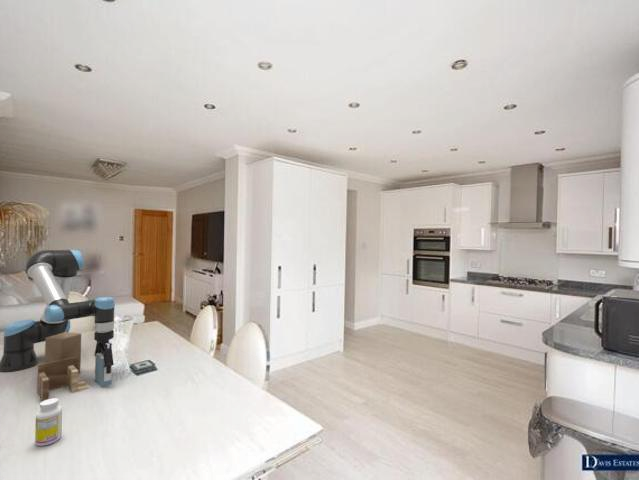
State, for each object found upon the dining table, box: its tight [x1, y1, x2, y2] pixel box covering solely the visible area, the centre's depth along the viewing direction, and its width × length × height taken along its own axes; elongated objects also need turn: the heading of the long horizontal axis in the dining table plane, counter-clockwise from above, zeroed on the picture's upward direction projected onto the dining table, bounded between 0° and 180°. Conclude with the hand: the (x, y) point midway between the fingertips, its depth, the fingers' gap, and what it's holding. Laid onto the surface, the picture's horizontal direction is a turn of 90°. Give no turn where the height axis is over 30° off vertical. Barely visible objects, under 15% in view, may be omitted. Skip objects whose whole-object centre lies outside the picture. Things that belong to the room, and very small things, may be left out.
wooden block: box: [44, 331, 82, 375], centre depth 154 cm, size 10×10×20 cm
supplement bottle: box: [34, 397, 63, 447], centre depth 104 cm, size 7×7×13 cm
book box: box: [94, 353, 112, 388], centre depth 147 cm, size 10×4×13 cm, turn 49°
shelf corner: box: [36, 356, 78, 402], centre depth 137 cm, size 15×14×12 cm
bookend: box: [66, 365, 90, 394], centre depth 142 cm, size 10×6×9 cm, turn 49°
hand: (103, 376), depth 147 cm, fingers open, 13 cm apart
